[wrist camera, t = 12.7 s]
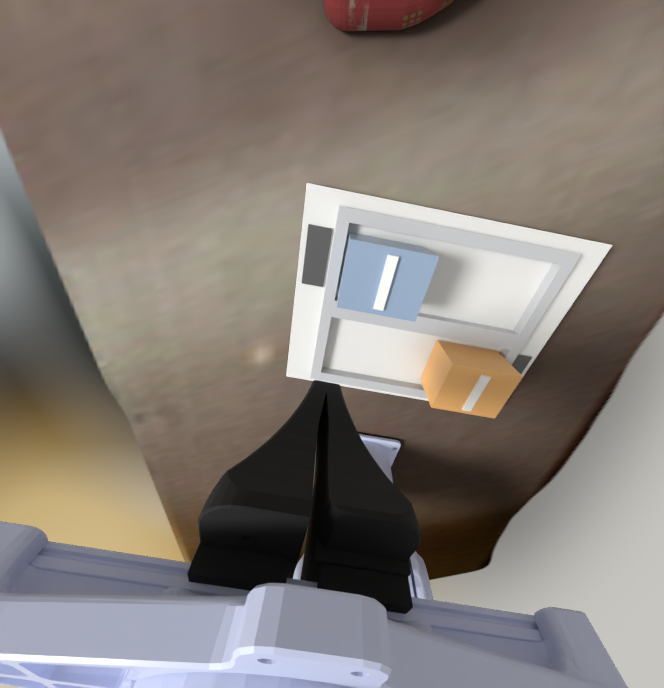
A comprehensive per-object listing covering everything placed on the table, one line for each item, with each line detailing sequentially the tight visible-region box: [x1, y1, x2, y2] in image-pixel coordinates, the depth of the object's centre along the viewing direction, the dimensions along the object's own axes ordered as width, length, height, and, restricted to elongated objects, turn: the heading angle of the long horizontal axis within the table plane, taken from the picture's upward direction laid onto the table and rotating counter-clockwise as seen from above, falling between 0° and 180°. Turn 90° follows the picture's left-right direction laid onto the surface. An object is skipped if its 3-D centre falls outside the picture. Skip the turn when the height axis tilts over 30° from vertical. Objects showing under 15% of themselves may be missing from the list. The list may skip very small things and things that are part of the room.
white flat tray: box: [286, 183, 612, 401], centre depth 20 cm, size 15×20×2 cm
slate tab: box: [337, 232, 440, 322], centre depth 16 cm, size 4×5×4 cm
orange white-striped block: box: [420, 340, 523, 418], centre depth 20 cm, size 4×5×4 cm
